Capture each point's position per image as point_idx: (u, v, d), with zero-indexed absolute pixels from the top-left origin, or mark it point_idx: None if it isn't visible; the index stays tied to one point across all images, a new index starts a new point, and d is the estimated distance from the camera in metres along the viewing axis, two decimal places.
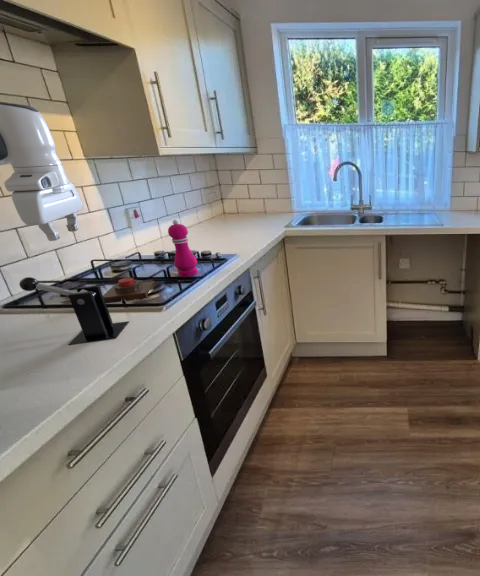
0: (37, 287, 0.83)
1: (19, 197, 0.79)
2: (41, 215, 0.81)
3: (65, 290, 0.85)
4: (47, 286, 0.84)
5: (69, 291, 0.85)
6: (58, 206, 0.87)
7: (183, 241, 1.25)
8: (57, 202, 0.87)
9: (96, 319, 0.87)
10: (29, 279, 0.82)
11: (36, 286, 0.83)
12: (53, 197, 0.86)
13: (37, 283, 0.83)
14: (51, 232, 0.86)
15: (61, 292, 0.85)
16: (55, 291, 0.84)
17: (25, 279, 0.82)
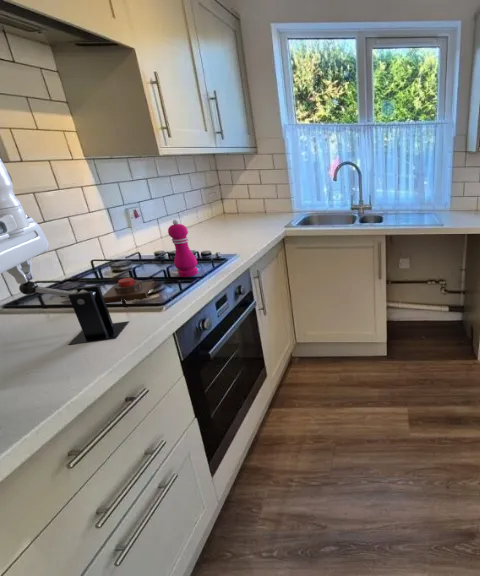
0: (36, 291, 0.83)
1: None
2: None
3: (65, 292, 0.85)
4: (47, 289, 0.84)
5: (69, 292, 0.85)
6: (17, 251, 0.78)
7: (183, 241, 1.25)
8: (16, 247, 0.78)
9: (96, 319, 0.87)
10: (28, 283, 0.82)
11: (36, 289, 0.83)
12: (11, 241, 0.78)
13: (36, 286, 0.83)
14: (20, 275, 0.80)
15: (61, 294, 0.85)
16: (55, 293, 0.84)
17: (24, 283, 0.82)
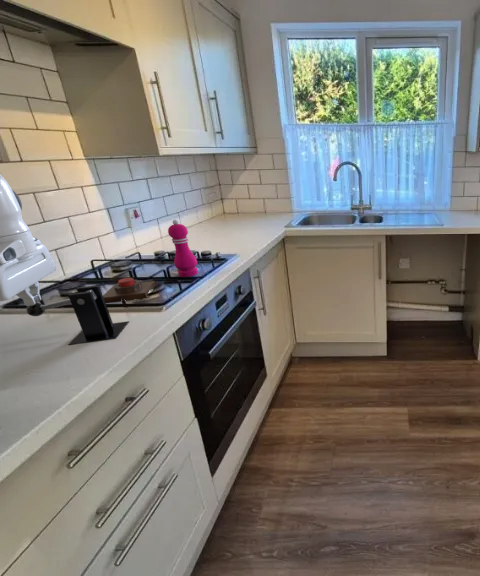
0: (43, 309, 0.85)
1: None
2: (4, 291, 0.74)
3: (66, 300, 0.86)
4: (50, 304, 0.85)
5: (69, 299, 0.86)
6: (25, 274, 0.81)
7: (183, 241, 1.25)
8: (24, 270, 0.80)
9: (96, 319, 0.87)
10: None
11: (41, 308, 0.85)
12: (20, 265, 0.80)
13: (41, 305, 0.85)
14: (28, 297, 0.82)
15: (63, 303, 0.86)
16: (58, 304, 0.85)
17: (28, 306, 0.84)
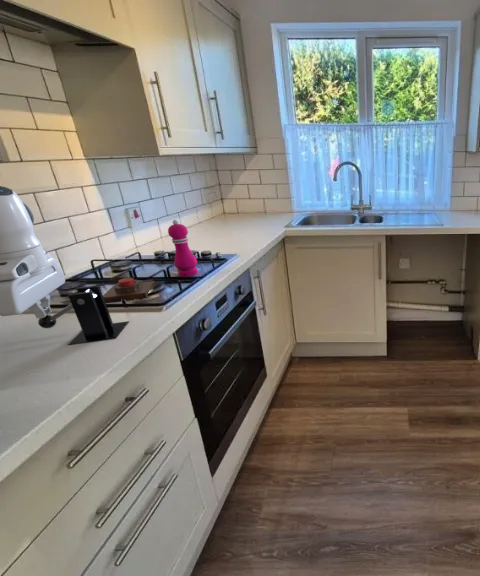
0: (53, 319, 0.86)
1: None
2: (16, 305, 0.75)
3: (69, 305, 0.86)
4: (57, 312, 0.86)
5: None
6: (37, 288, 0.82)
7: (183, 241, 1.25)
8: (36, 284, 0.82)
9: (96, 319, 0.87)
10: None
11: (51, 318, 0.86)
12: (32, 279, 0.81)
13: (50, 316, 0.86)
14: (39, 310, 0.84)
15: (68, 308, 0.86)
16: (64, 311, 0.86)
17: (39, 320, 0.85)
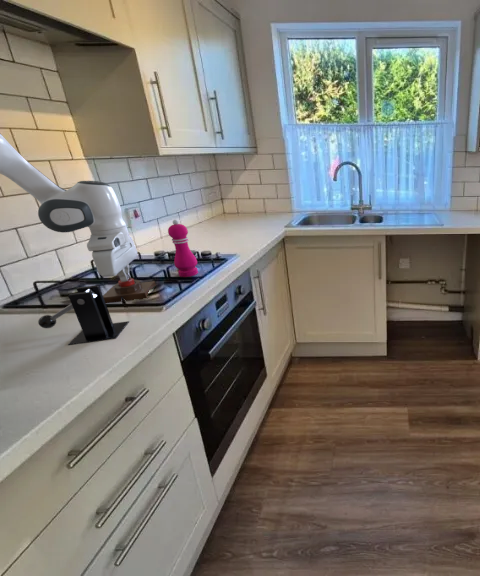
0: (53, 319, 0.86)
1: (98, 256, 1.00)
2: (114, 269, 1.02)
3: (69, 305, 0.86)
4: (57, 312, 0.86)
5: None
6: (123, 258, 1.09)
7: (183, 241, 1.25)
8: (122, 255, 1.09)
9: (96, 319, 0.87)
10: None
11: (51, 318, 0.86)
12: (120, 251, 1.08)
13: (50, 316, 0.86)
14: (123, 275, 1.11)
15: (68, 308, 0.86)
16: (64, 311, 0.86)
17: (39, 320, 0.85)
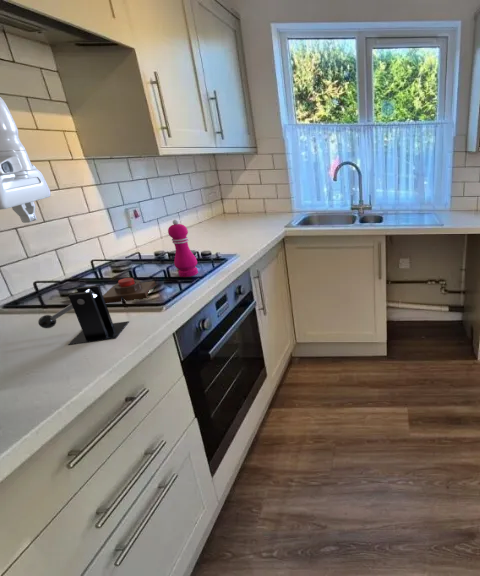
0: (53, 319, 0.86)
1: None
2: (2, 199, 0.81)
3: (69, 305, 0.86)
4: (57, 312, 0.86)
5: None
6: (22, 191, 0.88)
7: (183, 241, 1.25)
8: (21, 187, 0.87)
9: (96, 319, 0.87)
10: None
11: (51, 318, 0.86)
12: (17, 182, 0.87)
13: (50, 316, 0.86)
14: (24, 214, 0.89)
15: (68, 308, 0.86)
16: (64, 311, 0.86)
17: (39, 320, 0.85)
